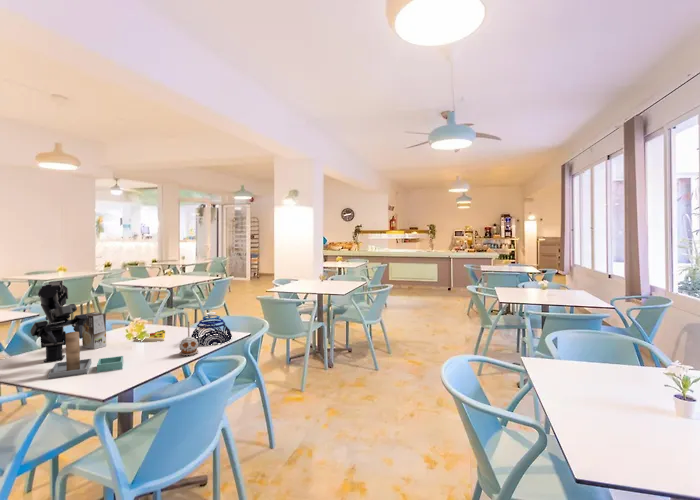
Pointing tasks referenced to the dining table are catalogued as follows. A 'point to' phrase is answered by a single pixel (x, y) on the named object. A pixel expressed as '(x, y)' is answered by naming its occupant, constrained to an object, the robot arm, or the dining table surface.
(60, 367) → the tray
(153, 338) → the pizza slice
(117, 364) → the teal square frame
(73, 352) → the brown tall rounded cylinder
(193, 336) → the decorative bowl
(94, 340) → the coffee box
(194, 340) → the decorative ornament
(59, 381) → the dining table surface
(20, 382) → the dining table surface
